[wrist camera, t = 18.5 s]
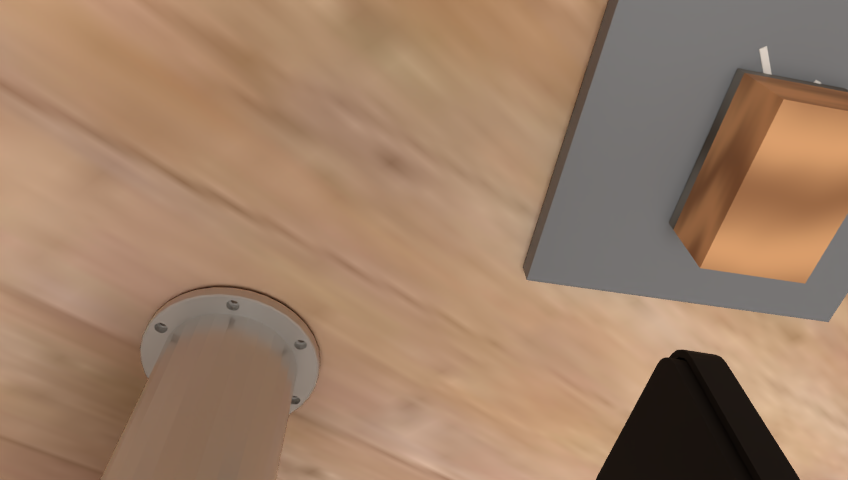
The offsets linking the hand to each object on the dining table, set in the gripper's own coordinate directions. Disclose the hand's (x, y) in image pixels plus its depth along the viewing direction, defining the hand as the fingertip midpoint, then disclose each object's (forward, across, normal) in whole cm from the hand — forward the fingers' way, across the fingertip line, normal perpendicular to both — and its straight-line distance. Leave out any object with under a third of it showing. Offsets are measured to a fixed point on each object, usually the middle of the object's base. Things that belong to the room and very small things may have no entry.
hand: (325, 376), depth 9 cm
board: (+29, -23, +4) cm, 38 cm away
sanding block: (+28, -23, +5) cm, 37 cm away
